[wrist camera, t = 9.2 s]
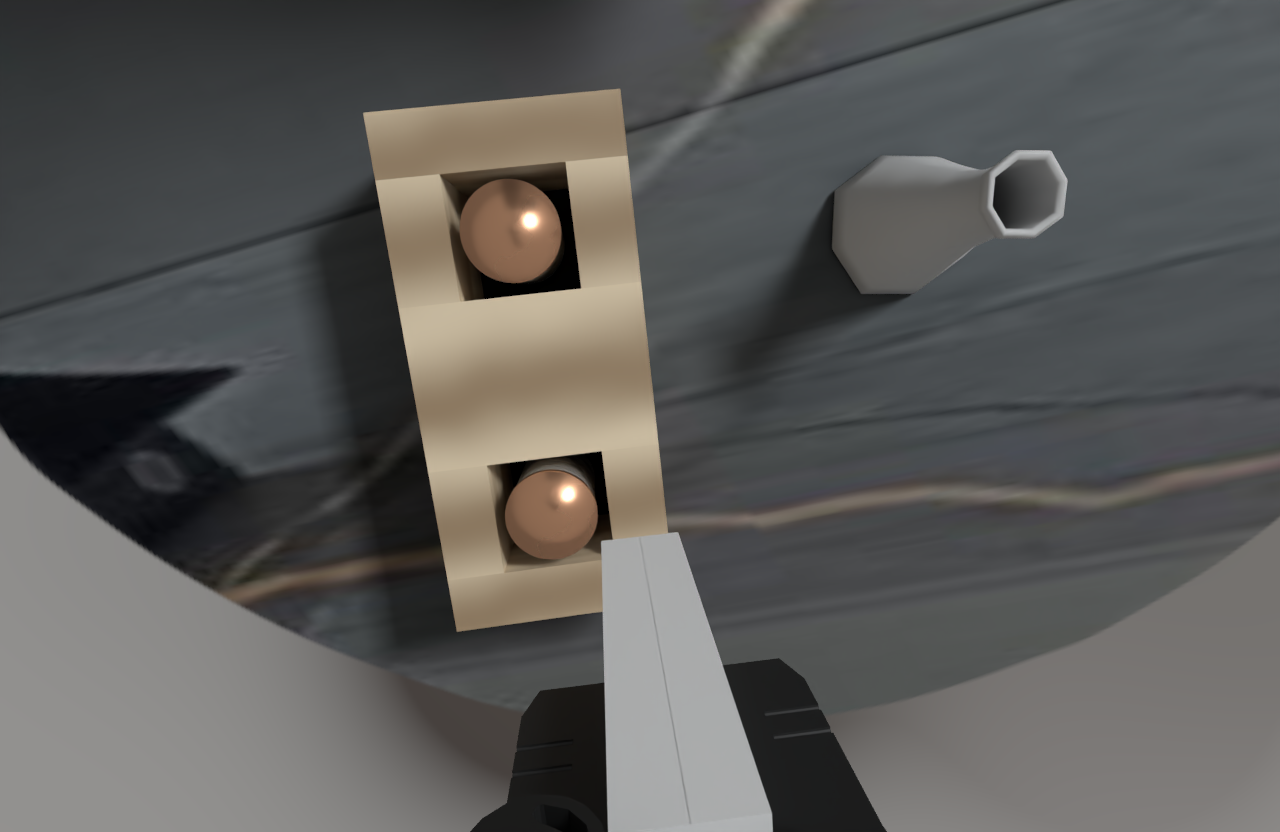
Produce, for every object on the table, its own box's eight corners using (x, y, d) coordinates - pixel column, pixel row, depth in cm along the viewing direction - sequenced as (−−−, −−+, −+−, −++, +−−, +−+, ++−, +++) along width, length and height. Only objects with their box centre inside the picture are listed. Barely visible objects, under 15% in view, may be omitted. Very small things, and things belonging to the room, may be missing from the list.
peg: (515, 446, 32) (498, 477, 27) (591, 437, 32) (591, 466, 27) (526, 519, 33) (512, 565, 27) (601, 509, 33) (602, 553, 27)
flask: (847, 315, 33) (955, 322, 23) (811, 179, 32) (910, 124, 22) (974, 271, 33) (1136, 259, 23) (944, 133, 32) (1103, 58, 22)
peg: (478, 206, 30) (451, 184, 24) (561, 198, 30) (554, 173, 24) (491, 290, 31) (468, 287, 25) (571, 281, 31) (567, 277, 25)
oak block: (408, 150, 30) (363, 112, 24) (614, 129, 30) (620, 88, 25) (480, 574, 34) (457, 631, 28) (661, 550, 35) (675, 601, 29)
